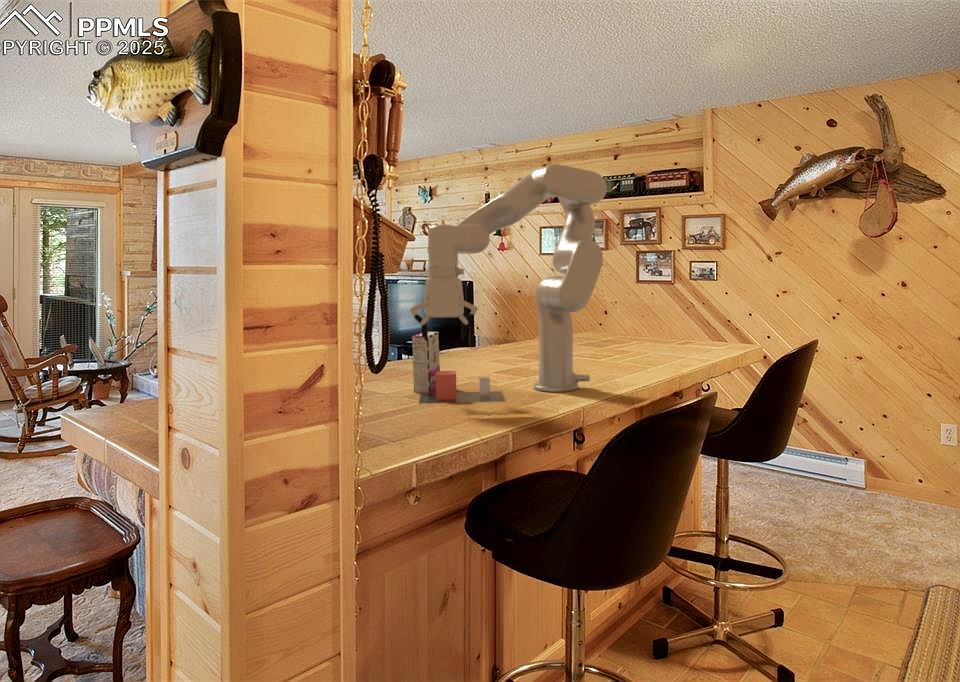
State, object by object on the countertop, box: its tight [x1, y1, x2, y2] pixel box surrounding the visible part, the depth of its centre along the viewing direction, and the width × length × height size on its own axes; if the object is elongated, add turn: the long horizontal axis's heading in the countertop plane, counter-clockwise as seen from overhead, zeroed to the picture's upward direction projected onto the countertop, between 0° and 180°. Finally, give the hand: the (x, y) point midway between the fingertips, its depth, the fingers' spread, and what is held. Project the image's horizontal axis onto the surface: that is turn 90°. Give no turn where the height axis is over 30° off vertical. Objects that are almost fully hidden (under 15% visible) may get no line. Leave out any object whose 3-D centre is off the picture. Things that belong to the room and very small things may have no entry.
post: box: [418, 376, 506, 405], centre depth 171 cm, size 22×13×6 cm, turn 93°
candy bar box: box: [411, 331, 441, 394], centre depth 183 cm, size 11×5×16 cm, turn 168°
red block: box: [435, 370, 458, 400], centre depth 170 cm, size 5×5×7 cm
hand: (444, 339), depth 169 cm, fingers open, 9 cm apart
